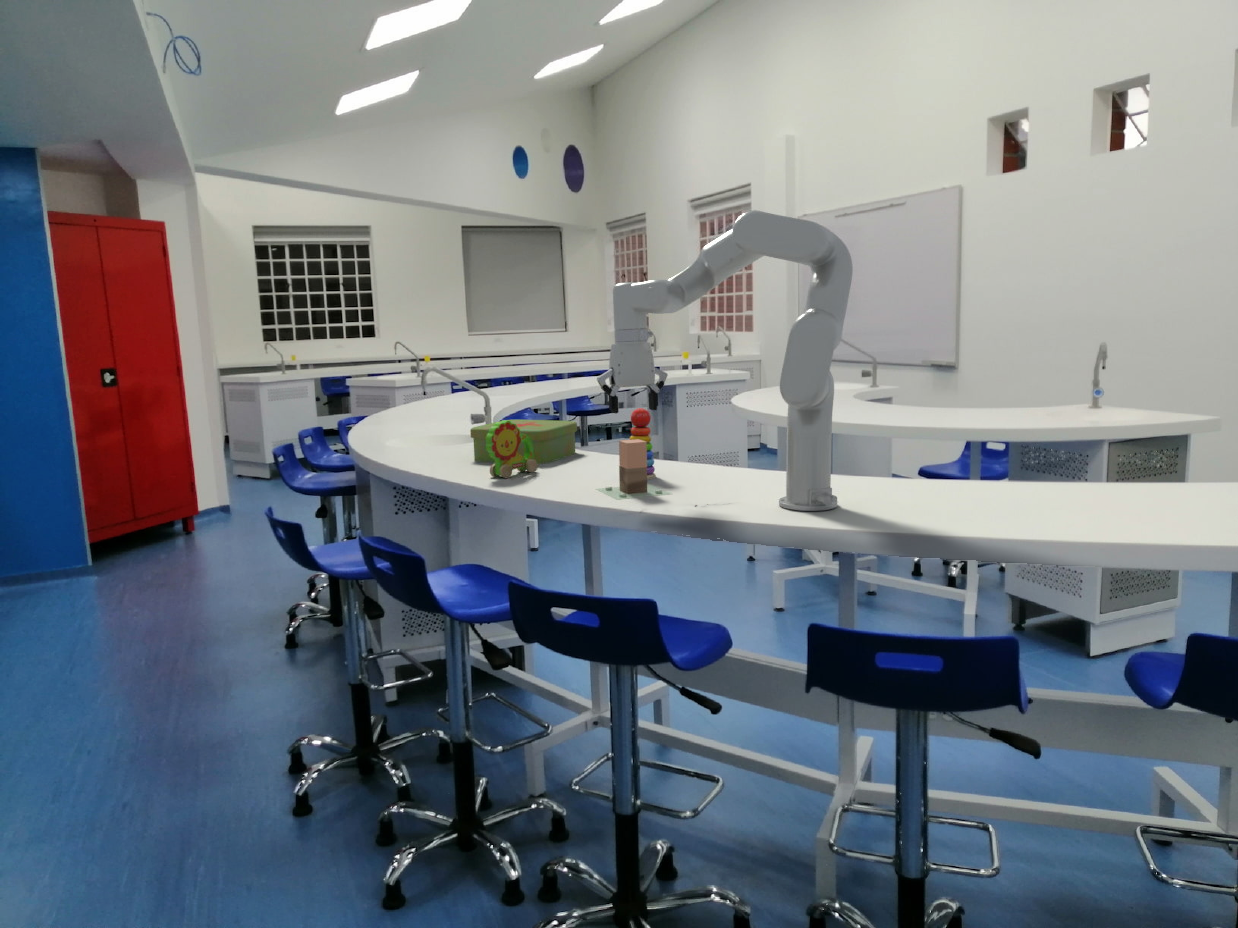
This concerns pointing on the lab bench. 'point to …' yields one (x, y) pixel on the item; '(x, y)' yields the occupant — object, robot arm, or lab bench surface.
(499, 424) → the toy lion
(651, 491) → the build plate
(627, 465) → the rust block
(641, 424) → the stacking toy
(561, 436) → the first aid kit
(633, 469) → the walnut block
